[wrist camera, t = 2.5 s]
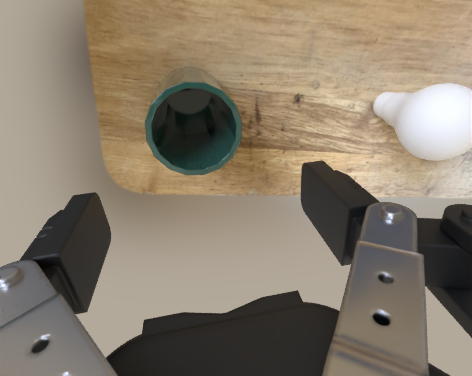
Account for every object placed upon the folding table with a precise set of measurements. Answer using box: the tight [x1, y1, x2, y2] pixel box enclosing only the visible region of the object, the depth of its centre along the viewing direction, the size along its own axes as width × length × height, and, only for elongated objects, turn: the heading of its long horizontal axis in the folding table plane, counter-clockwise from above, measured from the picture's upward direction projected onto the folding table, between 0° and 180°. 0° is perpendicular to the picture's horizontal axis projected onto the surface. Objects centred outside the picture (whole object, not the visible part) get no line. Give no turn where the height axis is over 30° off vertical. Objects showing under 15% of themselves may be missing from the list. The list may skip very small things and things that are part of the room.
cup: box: [145, 67, 242, 175], centre depth 24 cm, size 6×6×9 cm
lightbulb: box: [373, 83, 472, 161], centre depth 26 cm, size 6×6×11 cm
